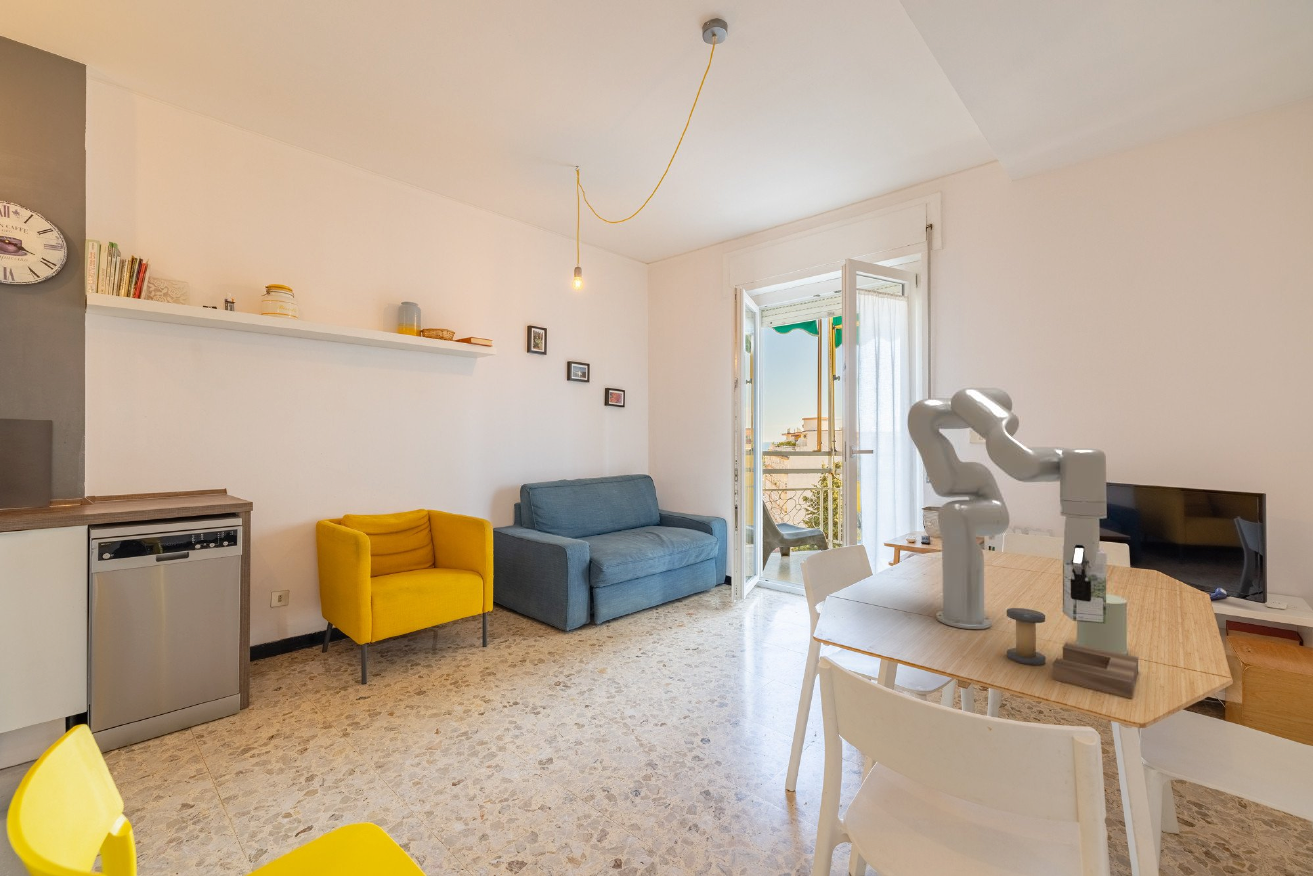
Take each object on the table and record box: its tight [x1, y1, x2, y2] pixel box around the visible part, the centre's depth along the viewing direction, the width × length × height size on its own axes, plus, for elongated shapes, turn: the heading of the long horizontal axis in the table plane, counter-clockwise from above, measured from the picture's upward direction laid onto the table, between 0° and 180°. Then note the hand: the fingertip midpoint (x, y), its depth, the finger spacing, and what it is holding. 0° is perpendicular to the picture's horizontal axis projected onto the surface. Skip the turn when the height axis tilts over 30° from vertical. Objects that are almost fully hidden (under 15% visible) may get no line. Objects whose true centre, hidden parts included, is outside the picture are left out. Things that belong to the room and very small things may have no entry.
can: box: [1075, 593, 1129, 655], centre depth 126 cm, size 9×9×12 cm
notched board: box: [1051, 641, 1139, 700], centre depth 112 cm, size 16×12×3 cm
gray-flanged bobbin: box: [1006, 607, 1047, 667], centre depth 120 cm, size 7×7×10 cm
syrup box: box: [1062, 545, 1107, 624], centre depth 113 cm, size 6×6×14 cm
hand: (1083, 595), depth 113 cm, fingers closed on syrup box, 7 cm apart
